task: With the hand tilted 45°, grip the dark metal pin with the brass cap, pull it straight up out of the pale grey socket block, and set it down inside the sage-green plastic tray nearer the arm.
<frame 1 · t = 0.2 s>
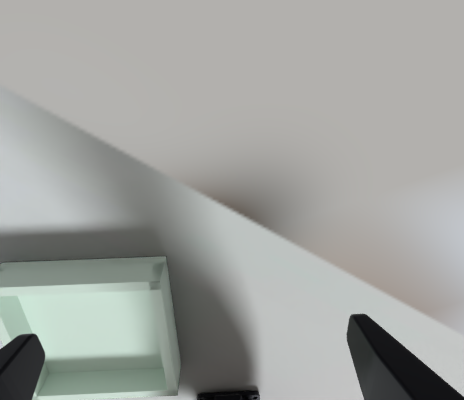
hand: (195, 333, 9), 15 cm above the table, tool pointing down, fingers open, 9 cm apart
tray: (100, 319, 28), on the table
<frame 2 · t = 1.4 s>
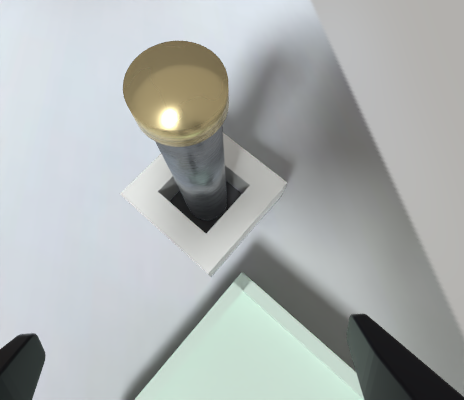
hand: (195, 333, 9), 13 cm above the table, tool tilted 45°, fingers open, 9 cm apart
pin: (207, 201, 24), resting in socket block
socket block: (207, 201, 24), on the table
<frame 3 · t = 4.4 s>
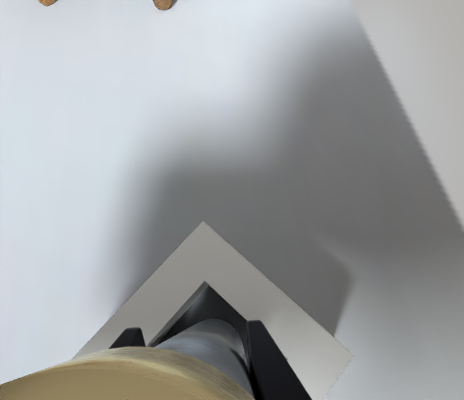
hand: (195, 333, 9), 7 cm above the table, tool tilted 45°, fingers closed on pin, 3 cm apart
pin: (212, 352, 15), resting in socket block, touching gripper
socket block: (212, 352, 15), on the table
when the fingers open (9 cm above the table, at t = 9.1 s): pin drops 2 cm, resting on tray.
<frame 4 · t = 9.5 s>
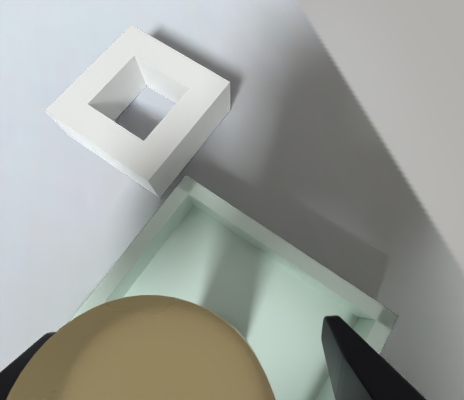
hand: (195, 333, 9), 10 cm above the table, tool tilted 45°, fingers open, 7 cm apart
tray: (215, 344, 18), on the table
pin: (214, 347, 17), point 1 cm above the table, touching tray
socket block: (151, 122, 22), on the table
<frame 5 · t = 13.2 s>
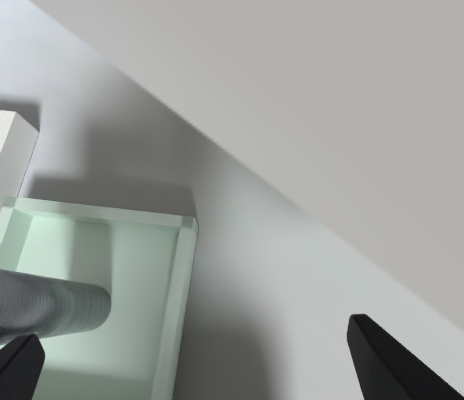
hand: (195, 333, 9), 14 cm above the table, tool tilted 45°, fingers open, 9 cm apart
tray: (93, 306, 22), on the table
pin: (89, 307, 22), point 1 cm above the table, touching tray
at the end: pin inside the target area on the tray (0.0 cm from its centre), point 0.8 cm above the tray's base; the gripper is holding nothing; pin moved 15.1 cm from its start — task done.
